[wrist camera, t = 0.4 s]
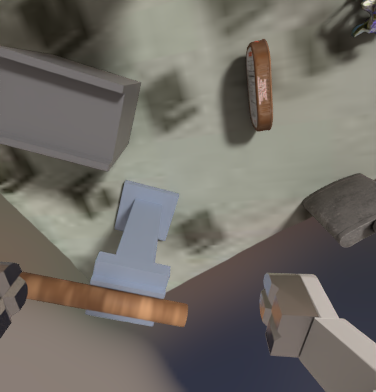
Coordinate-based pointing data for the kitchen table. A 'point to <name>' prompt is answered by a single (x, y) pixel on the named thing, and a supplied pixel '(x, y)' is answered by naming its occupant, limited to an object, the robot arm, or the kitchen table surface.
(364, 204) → the flask
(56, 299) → the dowel
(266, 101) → the tin
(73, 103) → the tray stand
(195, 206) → the kitchen table surface
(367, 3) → the passion flower
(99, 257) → the shelf post
